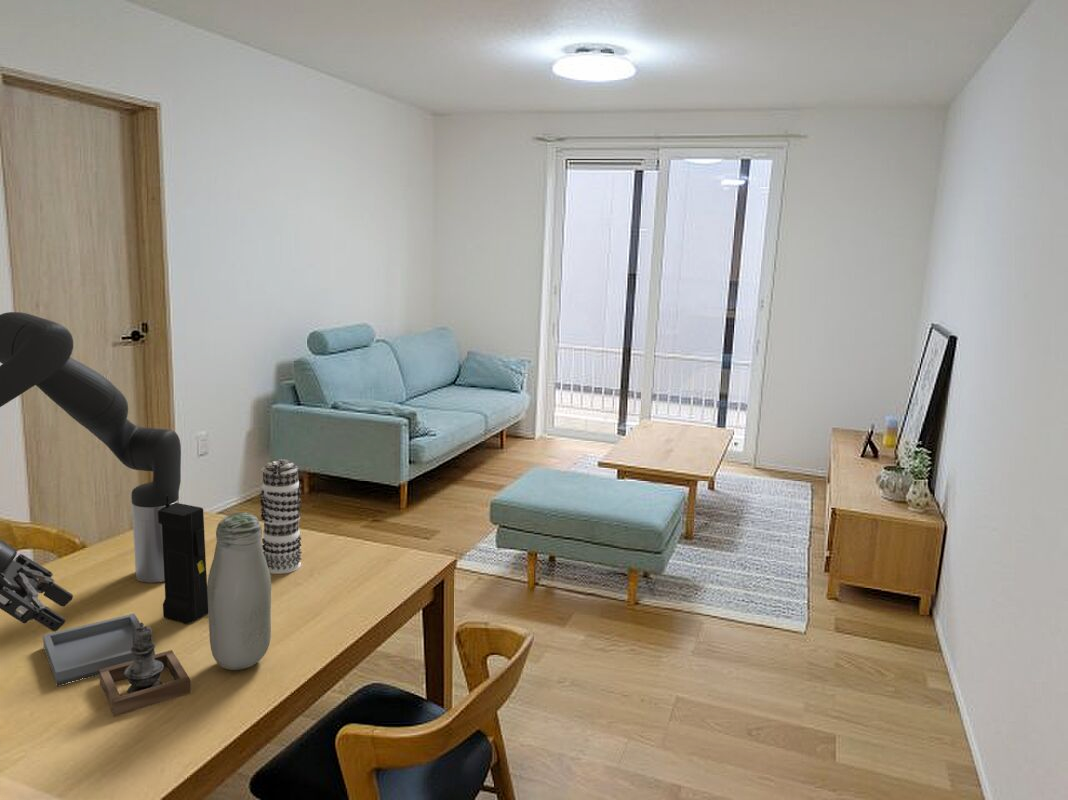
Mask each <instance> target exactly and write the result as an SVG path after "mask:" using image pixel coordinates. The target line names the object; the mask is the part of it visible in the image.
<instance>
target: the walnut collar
mask: <svg viewBox="0 0 1068 800" xmlns="http://www.w3.org/2000/svg"><path fill="white" fill-rule="evenodd" d="M154 659H155V660H158V661H161V662H162V663H163V664H164V668H163V670H164V669H167V670H168V672H169V674H170V675H171V677H172V679H173V680H171V681H168V682H163V684H161V685H157V686H154V687H150V688H147V689H144V690H140V691H137V692H134V693H130V694H128V693H127V694H125V695H120V692H119V691H118V688H117V686H116V684H115V682H116V683H119V682H121V681H122V680H123V681H125V680H127V677H126V676H125V675H124V671H125V670H126V668H127V667H128V666H130V665H132V664H133V661H129V662H126V663H122V664H118V665H114V666H111V667H107V668H103V669H100V670H99V675H98V677H99V684H100V687H101V686H102V687H101V688H102V691H103V693H105V694H104V696H105V698H106V700H107V703H108V705H109V708H110V710H111V712H112V713H113V717H114V718H116V717H118V716H121V714H122V715H125V714H128V712H129V713H131V712H134V711H139V710H140V709H145V708H147V707H151V706H154V705H158V704H160V703H164V702H167V701H170V700H174V699H177V698H180V696H181V697H183V696H186V695H190V694H192V685H191V684H192V683H191V682H192V681H191V678H190V676H189V674H188V673H187V672H186V670H185V668H184V667H183V665H182V664H181V662H180V661H179V659H178V657H177V655H176V654H175V653H174V650H173V649H171V650H166V651H162V652H160V653H156V654H155V655H154ZM118 681H119V682H118ZM115 716H116V717H115Z"/></svg>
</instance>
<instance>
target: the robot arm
mask: <svg viewBox="0 0 1068 800" xmlns="http://www.w3.org/2000/svg"><path fill="white" fill-rule="evenodd" d="M73 349H74V339H73V335H72V333H71V332H70V331H69V329H68V328H66V327H65V326H64V325H62V324H60V323H58V322H56V321H52V320H50V319H45V318H42V317H40V316H36V315H34V314H30V313H26V312H19V311H11V312H10V311H8V312H4V313H1V314H0V364H1V365H0V408H1V407H3V406H5V405H7V404H8V403H9V402H11V401H13V400H15V399H16V398H17V397H20V396H21V395H22V394H24V393H25V392H27V391H28V390H30V389H31V388H33V387H35V386H36V387H37V388H38V389H40V391H42V393H44V394H45V395H46V396H47V397H48V398H49V399H50V400H51V401H53V402H54V403H55V404H56V405H57V406H59V407H60V408H61V409H62V410H63V411H65V412H66V414H67V415H68V416H70V417H71V418H72V419H73V420H74V421H76V422H77V423H78V424H80V425H81V426H82V427H84V429H87V430H88V431H89V432H90V433H91V434H92V435H94V437H96V438H97V439H98V440H99V441H101V442H102V443H103V444H104V445H105V446H106V447H107V448H108V449H109V450H110V451H111V452H112V453H113V455H114V456H115V457H116V459H118V461H120V462H121V463H122V464H123V465H124V466H125V467H127V468H128V469H131V470H134V471H143V472H152V473H153V474H152V480H151V481H149V482H145V483H143V484H140V485H137V486H135V487H134V488H133V489H132V491H131V513H132V514H131V515H132V526H133V529H132V530H133V531H132V532H133V547H134V565H135V577H136V579H137V580H138V581H140V582H143V583H160V582H161V583H162V582H165V580H164V560H163V539H162V524H159V523H158V511H159V510H160V509H161V508H163V507H166V503H167V501H166V496H165V495H169V496H168V503H169V504H170V505H171V504H173V503H180V496H179V495H180V494H179V493H180V486H181V481H182V480H181V477H182V476H181V473H182V472H181V468H182V467H181V464H182V463H181V462H182V460H181V459H182V444H181V439H180V438H179V435H178V434H177V432H176V431H174V430H173V429H167V428H156V427H155V428H154V427H153V428H152V427H144V426H142V427H141V426H140V425H139V426H138V425H135V424H134V423H133V422H131V421H130V420H129V419H128V414H129V404H128V403H129V402H128V400H127V399H126V397H125V394H123V393H122V391H120V390H119V388H117V387H116V386H115V385H114V384H113V383H112V382H111V381H110V380H109V379H107V378H106V377H105V376H104V375H102V374H100V373H99V372H98V371H97V370H94V369H92V368H91V367H89V366H87V365H85V364H84V363H82V362H79V361H78V360H76V359H74V358H72V357H71V355H72V354H73ZM17 554H18V550H17V549H16V548H14V547H13V546H11V545H10V544H9V543H7V542H5V541H3V540H2V539H1V538H0V610H2V611H3V612H5V613H6V614H7V615H9V616H11V617H12V618H14V619H15V620H17V621H18V622H21V624H27V623H28V622H29V621H33V620H35V622H38V623H39V624H41V625H42V626H44V627H46V629H47V628H48V629H49V630H50V631H52V632H58V631H59V629H60V628H61V627H62V626H64V624H65V622H66V618H65V617H63V616H62V615H60V614H59V613H57V612H56V611H54V610H52V609H51V608H49V607H47V606H45V604H43V602H42V601H41V600H40V598H38V596H39V594H43V596H44V597H46V598H48V599H49V600H50V601H52V602H53V603H54V604H57V605H59V607H66V606H67V605H68V604H69V603H70V602H72V600H73V597H74V595H73V594H72V593H71V592H69V591H68V590H66V589H65V588H63V587H62V586H60V585H59V584H57V583H55V580H54V579H53V573H52V571H50V570H48V569H47V568H45V567H44V566H42V565H41V564H39V563H37V562H36V561H34V560H32V559H31V558H29V557H27V556H26V555H25V554H23V553H20V554H18V556H17ZM19 611H20V612H19Z"/></svg>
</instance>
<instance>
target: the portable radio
mask: <svg viewBox="0 0 1068 800" xmlns="http://www.w3.org/2000/svg"><path fill="white" fill-rule="evenodd" d="M165 496H166V501H167V503H166V507H163V508H161V509H160V510H159V511H158V523H159V524H162V539H163V560H164V580H165V581H164V601H163V603H162V614H163V618H164V619H166V620H170V621H174V622H176V623H177V622H178V623H181V624H185V625H188V624H191V623H194V622H196V621H197V620H199V619H202V618H203V617H205V616H206V615H208V593H207V583H208V577H207V576H208V575H207V560H206V557H207V556H206V538H205V535H206V534H205V521H204V520H205V518H204V514H205V513H204V508H203V507H200V506H195V505H189V504H184V503H181V502H179V503H173V504H171V505H170V504H169V503H168V496H169V495H165Z"/></svg>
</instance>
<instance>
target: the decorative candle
mask: <svg viewBox="0 0 1068 800" xmlns="http://www.w3.org/2000/svg"><path fill="white" fill-rule="evenodd" d="M299 469H300V467H299V466H298V465H296V464H295V463H294V462H293V461H291V460H289V459H275V460H271V461H268V462H267V463H266V464H265V466H263V467H262V468H261V472H262V486H261V487H262V490H261V491H260V493H259V497H260V499H259V502H260V506H261V508H260V513H261V514H260V517H261V521H262V522H263V523H264V524H263V525H264V528H263V529H264V530H262V536H263V537H262V547H263V553H264V556H265V559H266V562H267V566H268V569H269V573H270V574H273V575H274V574H275V575H276V574H277V575H278V574H279V575H282V574H289V573H292V572H295V571H297V570H299V569H300V568H301V566H302V563H301V560H302V557H301V554H302V553H303V552H302V551H301V548H300V547H301V546H302V544H301V540H302V537H301V535H300V527H299V526H300V525H299V524H300V523H299V522H300V521H299V520H300V519H301V516H302V514H301V513H300V512H299V511H300V510H301V509H302V506H301V505H302V504H301V502H302V501H303V500H302V499H301V498H300V497H299V496H300V495H302V494H303V491H302V490H301V488H302V487H303V485H302V483H301V482H300V481H299Z"/></svg>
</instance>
